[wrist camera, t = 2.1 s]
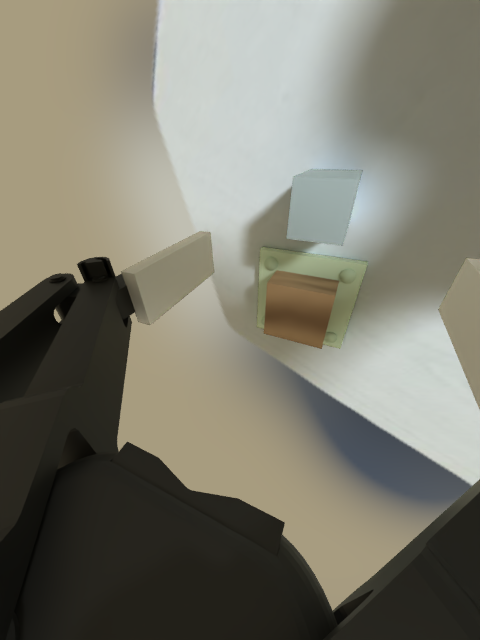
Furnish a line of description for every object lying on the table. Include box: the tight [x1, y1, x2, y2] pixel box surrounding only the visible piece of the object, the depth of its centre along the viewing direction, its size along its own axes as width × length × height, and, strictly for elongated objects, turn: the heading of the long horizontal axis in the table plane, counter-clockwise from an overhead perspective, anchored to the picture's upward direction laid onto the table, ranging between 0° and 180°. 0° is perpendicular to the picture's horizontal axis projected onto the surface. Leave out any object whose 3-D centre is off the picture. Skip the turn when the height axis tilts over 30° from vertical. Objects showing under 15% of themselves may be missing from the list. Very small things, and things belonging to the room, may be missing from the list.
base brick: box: [264, 270, 339, 349], centre depth 32 cm, size 8×8×4 cm
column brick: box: [286, 169, 362, 246], centre depth 23 cm, size 5×5×8 cm
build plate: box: [257, 247, 368, 349], centre depth 33 cm, size 13×13×1 cm
